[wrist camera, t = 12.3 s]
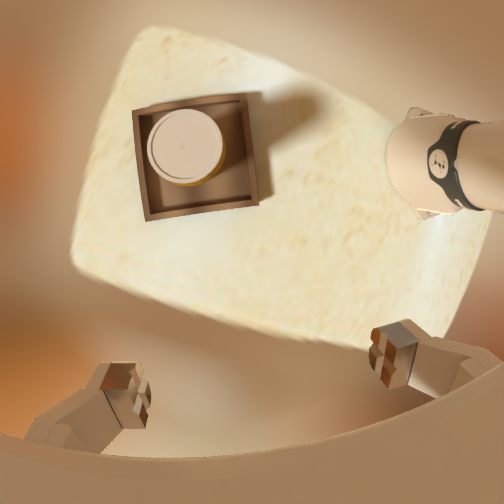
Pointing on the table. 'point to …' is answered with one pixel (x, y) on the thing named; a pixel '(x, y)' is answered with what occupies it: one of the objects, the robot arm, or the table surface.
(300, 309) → the table surface
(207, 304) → the table surface
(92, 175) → the table surface
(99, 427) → the robot arm
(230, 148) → the serving tray
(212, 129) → the bottle
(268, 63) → the table surface
